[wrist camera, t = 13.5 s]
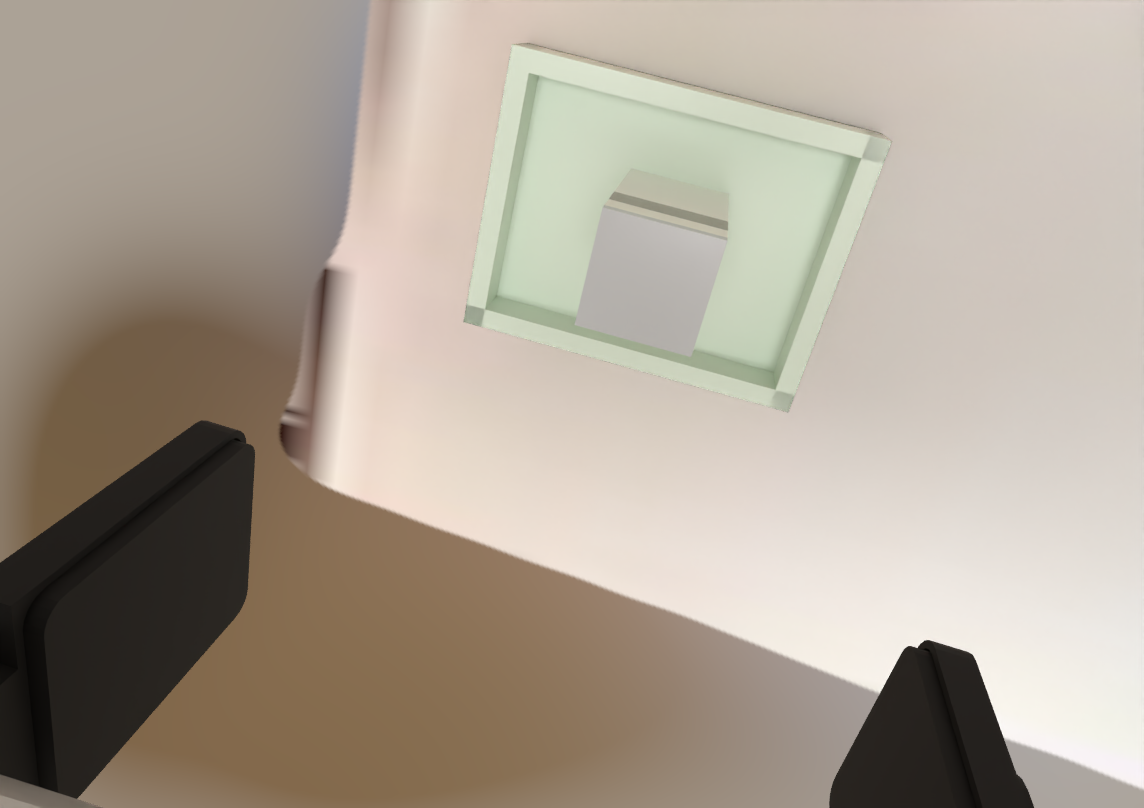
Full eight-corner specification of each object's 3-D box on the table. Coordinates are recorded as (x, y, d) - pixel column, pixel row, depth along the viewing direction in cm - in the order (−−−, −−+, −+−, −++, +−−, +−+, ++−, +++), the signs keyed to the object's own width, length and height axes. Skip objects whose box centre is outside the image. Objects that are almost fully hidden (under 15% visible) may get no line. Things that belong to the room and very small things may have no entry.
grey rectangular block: (728, 194, 33) (727, 240, 25) (699, 288, 34) (691, 356, 27) (631, 168, 33) (602, 207, 26) (607, 263, 35) (574, 324, 27)
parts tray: (880, 133, 31) (892, 141, 29) (784, 388, 36) (788, 412, 34) (527, 43, 32) (511, 44, 30) (479, 303, 37) (463, 321, 35)
